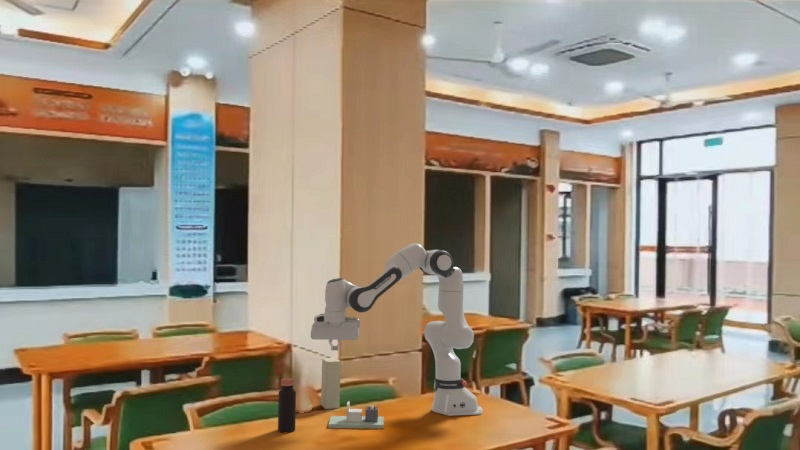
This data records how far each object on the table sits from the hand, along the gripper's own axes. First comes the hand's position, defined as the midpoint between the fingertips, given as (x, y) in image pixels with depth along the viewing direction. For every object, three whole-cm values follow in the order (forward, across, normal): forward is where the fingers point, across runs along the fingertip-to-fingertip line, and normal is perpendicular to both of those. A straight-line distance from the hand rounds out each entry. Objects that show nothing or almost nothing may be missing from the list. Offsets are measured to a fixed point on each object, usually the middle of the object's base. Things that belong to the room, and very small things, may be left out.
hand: (334, 350), depth 278 cm
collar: (+27, -16, +7) cm, 32 cm away
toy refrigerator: (+29, +3, -20) cm, 35 cm away
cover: (+27, -9, +7) cm, 29 cm away
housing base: (+29, -10, +7) cm, 31 cm away
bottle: (+29, +17, +17) cm, 38 cm away
